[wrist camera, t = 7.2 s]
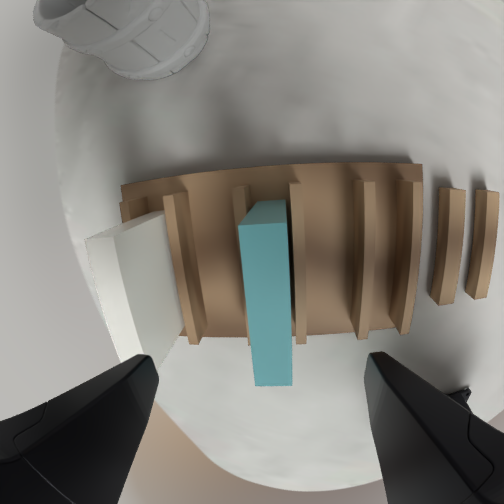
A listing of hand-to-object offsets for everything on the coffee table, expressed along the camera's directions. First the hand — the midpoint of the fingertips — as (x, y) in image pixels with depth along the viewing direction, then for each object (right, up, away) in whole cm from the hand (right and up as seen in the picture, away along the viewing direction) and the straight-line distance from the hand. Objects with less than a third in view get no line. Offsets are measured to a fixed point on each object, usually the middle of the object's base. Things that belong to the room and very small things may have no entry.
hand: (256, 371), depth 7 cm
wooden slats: (+15, +4, +9) cm, 18 cm away
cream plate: (-5, +3, +10) cm, 12 cm away
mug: (-6, +20, +7) cm, 22 cm away
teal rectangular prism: (+1, +3, +10) cm, 10 cm away
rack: (+1, +3, +11) cm, 11 cm away
